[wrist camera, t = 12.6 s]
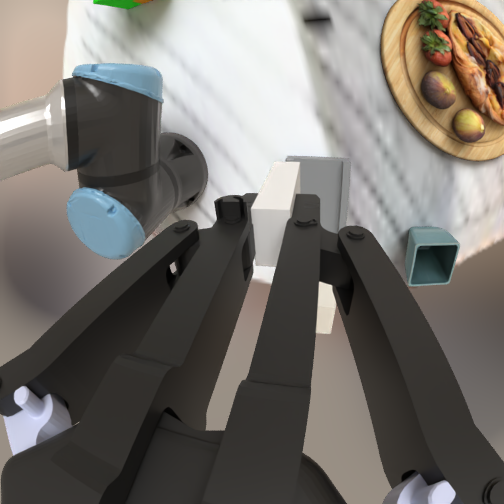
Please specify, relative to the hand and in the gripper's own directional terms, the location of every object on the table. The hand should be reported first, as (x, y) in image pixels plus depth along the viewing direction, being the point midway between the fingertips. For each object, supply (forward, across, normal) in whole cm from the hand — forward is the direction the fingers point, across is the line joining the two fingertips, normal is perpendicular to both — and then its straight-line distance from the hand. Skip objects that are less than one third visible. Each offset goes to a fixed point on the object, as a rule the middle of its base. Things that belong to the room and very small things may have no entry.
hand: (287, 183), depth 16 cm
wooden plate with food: (+30, +28, +13) cm, 43 cm away
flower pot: (+30, +23, -20) cm, 43 cm away
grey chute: (+29, +2, -18) cm, 35 cm away
